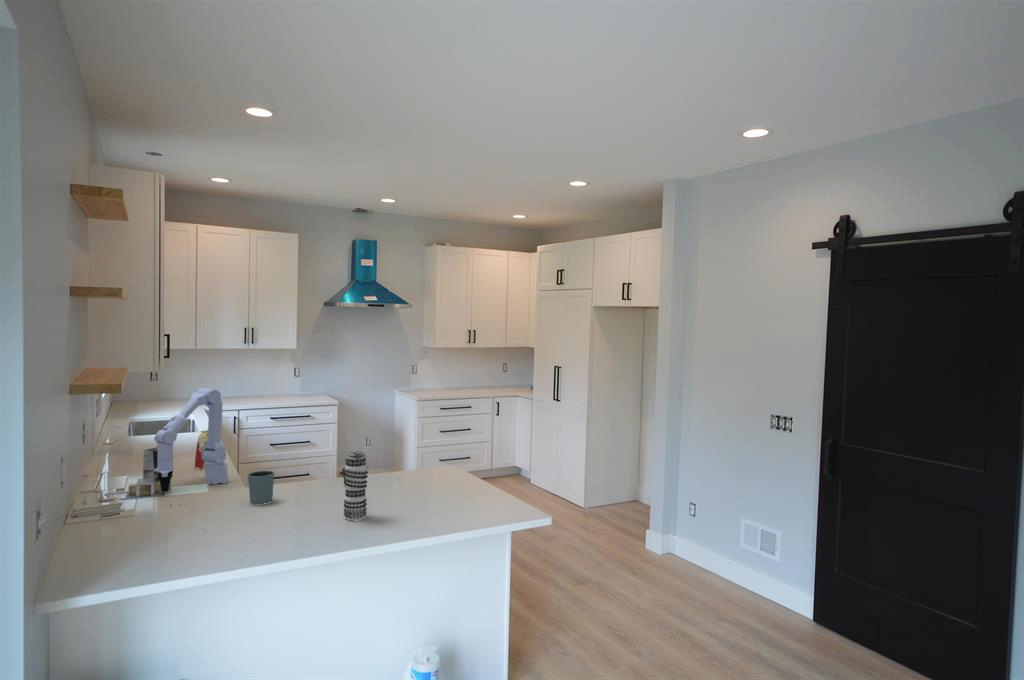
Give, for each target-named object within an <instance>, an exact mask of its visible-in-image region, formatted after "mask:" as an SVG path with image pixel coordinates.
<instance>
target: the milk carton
mask: <svg viewBox="0 0 1024 680" xmlns="http://www.w3.org/2000/svg"><path fill="white" fill-rule="evenodd" d="M200 432H201V433H200V434H199V435H198V437H197V441H196V448H195V449H196V450H195V457H194V466H193V467H194V468H199V469H202V470H205V463H204V461H203V460H202V457H201V455H202V452H203V449H204V445H205V444H206V443H207V442H208V429H207V430H200ZM194 468H193V469H194Z"/></svg>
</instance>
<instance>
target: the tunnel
mask: <svg viewBox="0 0 1024 680" xmlns="http://www.w3.org/2000/svg"><path fill="white" fill-rule="evenodd" d="M135 484H136V497H140V485H151V496H154V488H155V477H153V478H143V477H142V478H137V481H136V483H135Z"/></svg>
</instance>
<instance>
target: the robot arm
mask: <svg viewBox="0 0 1024 680" xmlns="http://www.w3.org/2000/svg"><path fill="white" fill-rule="evenodd" d="M221 394H222V393H221V392H220V391H219V390H218V389H216V388H205V387H198V388H196V389H195V390H194V392H193V393H192V394H191V398H190V399H189V400H188V401H187V403H186V405H185V406H184V407H183V408H182V410H181V411H180V412H179V414H175V415H173V416H171V418H170V420H169V421H168V422H167V424H166V425H164V426H163V428H162V429H160V430H158V431H157V432H156V434H155V435H154V437H153V438H154V441H155V442H156V446H157V447H158V469H154V471H158V475H157V478H158V479H159V481H160V484H161V489H162V492H166V491H168V489H169V484H170V481H172V478H173V476H174V475H173V473H174V443H175V441H177V436H178V433H179V432H180V431H182V429H183V428H184V427H185V425H186V424H187V419H188V418H189V416H191V414H193V412H194V411H195V410H197V408H199V407H200V406H203V405H204V406H206V407H207V408H208V423H207V424H208V426H207V430H208V442H207V443H206V444H205V445H204V449H203V452H202V455H201V457H202V460H203V461H204V463H205V471H204V482H208V483H209V484H213V485H219V484H218V483H223V484H227V483H228V479H229V475H228V463H227V462H225V461H226V458H227V452H226V447H225V445H224V444H223V442H222V423H223V422H222V421H223V401H222V398H221V396H222V395H221ZM226 482H227V483H226Z"/></svg>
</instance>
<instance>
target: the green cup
mask: <svg viewBox="0 0 1024 680" xmlns="http://www.w3.org/2000/svg"><path fill="white" fill-rule="evenodd" d="M247 483H248V490H249V491H248V493H249V503H252V504H264V503H268V502H271V501H272V500H274V497H273V496H274V492H273V491H274V483H275V471H273V470H257V471H252V472H250V473H248V474H247ZM272 502H273V501H272ZM272 502H271V503H272ZM252 504H251V505H252Z"/></svg>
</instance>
